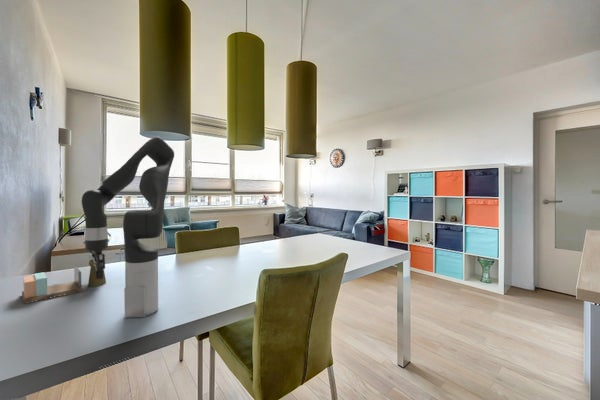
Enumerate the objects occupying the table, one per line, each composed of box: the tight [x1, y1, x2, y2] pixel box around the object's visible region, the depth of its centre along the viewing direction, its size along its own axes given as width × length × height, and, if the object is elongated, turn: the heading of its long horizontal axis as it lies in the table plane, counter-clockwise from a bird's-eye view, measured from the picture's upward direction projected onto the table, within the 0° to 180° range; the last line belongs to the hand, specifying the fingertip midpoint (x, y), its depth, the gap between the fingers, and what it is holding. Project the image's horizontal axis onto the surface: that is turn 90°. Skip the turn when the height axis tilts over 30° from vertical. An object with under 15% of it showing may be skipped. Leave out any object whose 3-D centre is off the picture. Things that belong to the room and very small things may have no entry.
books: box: [22, 271, 48, 298], centre depth 96 cm, size 6×9×6 cm, turn 49°
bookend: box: [73, 266, 82, 287], centre depth 105 cm, size 1×9×6 cm, turn 48°
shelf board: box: [21, 280, 84, 304], centre depth 100 cm, size 16×11×2 cm
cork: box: [87, 259, 107, 287], centre depth 110 cm, size 6×6×11 cm
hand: (97, 276), depth 110 cm, fingers open, 8 cm apart
